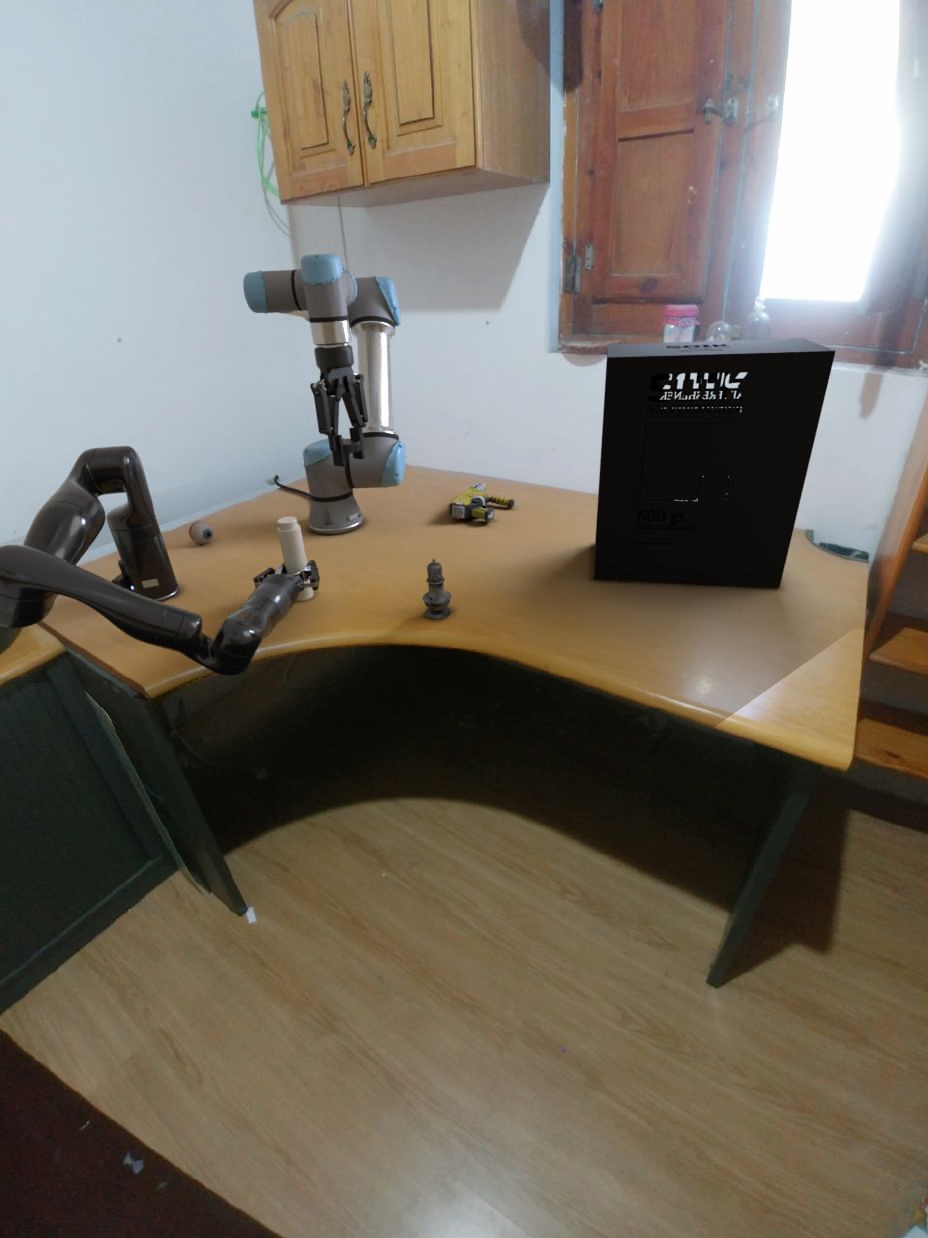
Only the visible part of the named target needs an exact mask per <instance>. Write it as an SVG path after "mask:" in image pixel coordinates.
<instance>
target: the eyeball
mask: <svg viewBox="0 0 928 1238" xmlns="http://www.w3.org/2000/svg"><path fill="white" fill-rule="evenodd" d="M188 534H189V535H188V536H189V537H190V539H191V540H192V541H193V542H194V543H197V544H199V545H200V544H202V545H203V544H207V543H209V542H210V541H211V540H212V539H213V538H214V529H213V527H212V525H211V524H210V523H208V522H206V521H204V520H199V521H197V520H196V521H195V522H193V523H192V524H191V525H190V527H189V529H188Z"/></svg>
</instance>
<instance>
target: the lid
mask: <svg viewBox="0 0 928 1238" xmlns="http://www.w3.org/2000/svg"><path fill="white" fill-rule="evenodd" d="M342 442H343V448H344V454H346V453H354V452H358V451H360V450H361V443H360V440H359V439H351V438H344V439H342Z"/></svg>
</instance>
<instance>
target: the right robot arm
mask: <svg viewBox="0 0 928 1238" xmlns="http://www.w3.org/2000/svg"><path fill="white" fill-rule="evenodd" d="M242 287H243V294H244V299H245V301H246V304H247V306H248V308H249V309H250V311H251V312H252V313H255V314H266V315H267V314H273V313H274V314H275V313H277V314H285V315H290V316H295V317H301V318H303V319H304V320H305V321H307V322H309V326H310V332H311V338H312V344H313V345H315V346H316V347H314V349H313V351H314V352H313V353H314V358H315V365H316V367H317V368H318V369H319V371H320V373H319V380H318V381H316V382H310V385H309V387H310V390H311V393H312V395H313V400H314V406H315V414H316V415H315V416H316V422H317V427H318V433H319V434H321V435H325V436H327V438H325V439H324V438H323V439H320V440H316V441H314V442H312V443H309V444H308V445H306V446H305V447H304V448H303V450H302V457H303V467H304V471H305V477H306V481H307V486H308V492H307V491H304V490H300V489H297V488H294V487H291V486H287V485H284V484H282V483H279V482H278V480H279V479H280V476H279V475H278V474H276V475H274V478H273V480H274V482H273V483H274V484H275V485H276V486H277V487H279V488H282V489H284V490H287V491H290V492H294V493H297V494H300V495H304V496H307V497H309V499H310V507H309V513H308V521H307V522H308V523H307V524H308V528H309V529H308V530H310V531H311V532H312V533H314V534H317V535H323V536H324V535H325V536H327V535H329V536H331V535H339V534H340V535H341V534H345V533H350V532H353V531H355V530H357V529H359V528H361V527H362V526H363V525H364V523H365V519H364V514H363V512H362V510H361V508H360V505H359V504H358V501H357V500H356V498H355V495H354V489H377V488H381V489H386V488H393V487H394V488H395V487H398V486H399V485H401V484H402V482H403V480H404V476H405V472H406V471H405V470H406V460H407V456H406V444H405V442H404V441H401V440H400V435H399V434H398V433H397V432H396V431H395V430H394V422H393V421H394V420H393V392H392V391H393V390H392V365H391V363H392V362H391V361H392V360H391V339H392V338H393V337H394V336H395V334H396V327H399V326H400V325H401V324H402V318H401V316H402V315H401V310H400V306H399V305H400V304H399V299H398V294H397V290H396V287H395V284H394V281H393V279H392V278H390V277H389V276H377V275H374V276H364V277H354V275H353V274H352V273H351V272H350V271H349V270H348V269H345V268H344V267H342V260H341V258H340V256H339V255H338V254H337V253H319V254H318V253H317V254H307V255H306V254H305V255H303V256H302V257H301V258H300V268H297V269H295V268H294V269H282V270H281V269H280V270H258V271H252V272H247V273H245V275H244V277H243V281H242ZM352 336H353V337H355V338H356V345H357V346H356V349H357V373H355V372H354V370H353V367H352V366H353V365H355V357H354V351H353V350H354V349H353V346H352V345H351V344H350V343H351V342H352V341H353V340H352ZM341 401H342V402H343V405H344V407H345V408H344V409H345V410H346V413H347V416H348V420H349V422H350V425H351V427H349V428H348V431H349V439H359V440H360V443H361V450H360V451H358V452H354V453H346V454H344V448H343V442H342V439H345V437H343V435H342V434H339V422H340V421H339V420H340V402H341Z"/></svg>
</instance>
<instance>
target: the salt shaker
mask: <svg viewBox="0 0 928 1238" xmlns="http://www.w3.org/2000/svg"><path fill="white" fill-rule="evenodd" d="M426 570H427V578H426V583H427V585H428V591H427V592H426V593H424V594H423V595H422V601H423V603H424V605H425V607H426V608H427V609H426V610H425V613H424V614H425V616H426V617H427V618H429V619H434V620H440V619H444V618H448V617H449V616H450V615H451V614H452V609H451V608H450V607H449V606H450V603H451V599H452V597H453V596H452V593H451V592H449V591H447V590H445V585H444V582H445V579H446V578H445V577H444V576H443V567H442V564H441V563H440V562H437V560H436V558H432V562H430V563H428V565H427V566H426Z"/></svg>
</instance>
